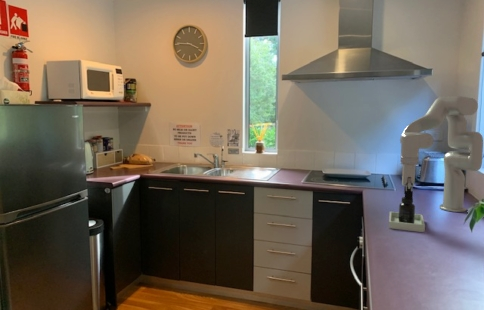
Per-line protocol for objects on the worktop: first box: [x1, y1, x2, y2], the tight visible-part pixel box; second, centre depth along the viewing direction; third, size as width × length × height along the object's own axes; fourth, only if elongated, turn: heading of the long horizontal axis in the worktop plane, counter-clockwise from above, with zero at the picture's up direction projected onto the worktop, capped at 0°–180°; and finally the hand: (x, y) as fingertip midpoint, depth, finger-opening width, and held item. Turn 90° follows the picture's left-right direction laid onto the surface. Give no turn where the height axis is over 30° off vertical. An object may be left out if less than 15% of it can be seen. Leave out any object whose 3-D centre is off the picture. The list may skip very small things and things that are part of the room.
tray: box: [388, 211, 426, 233], centre depth 171 cm, size 18×15×3 cm
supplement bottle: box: [398, 196, 416, 224], centre depth 170 cm, size 7×7×12 cm
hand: (408, 196), depth 170 cm, fingers open, 9 cm apart
